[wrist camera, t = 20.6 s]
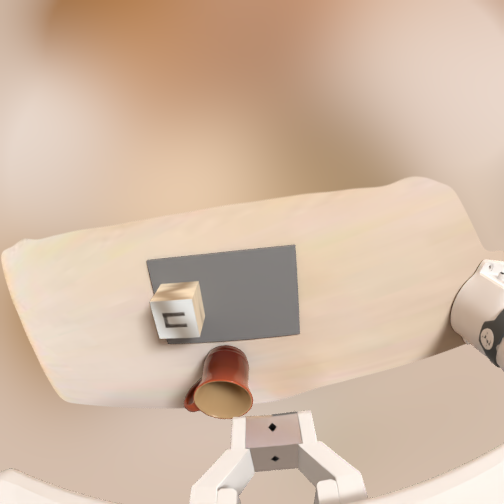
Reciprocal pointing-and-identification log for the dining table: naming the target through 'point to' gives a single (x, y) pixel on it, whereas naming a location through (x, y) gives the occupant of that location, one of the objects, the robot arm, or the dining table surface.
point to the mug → (222, 385)
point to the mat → (238, 291)
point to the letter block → (178, 310)
